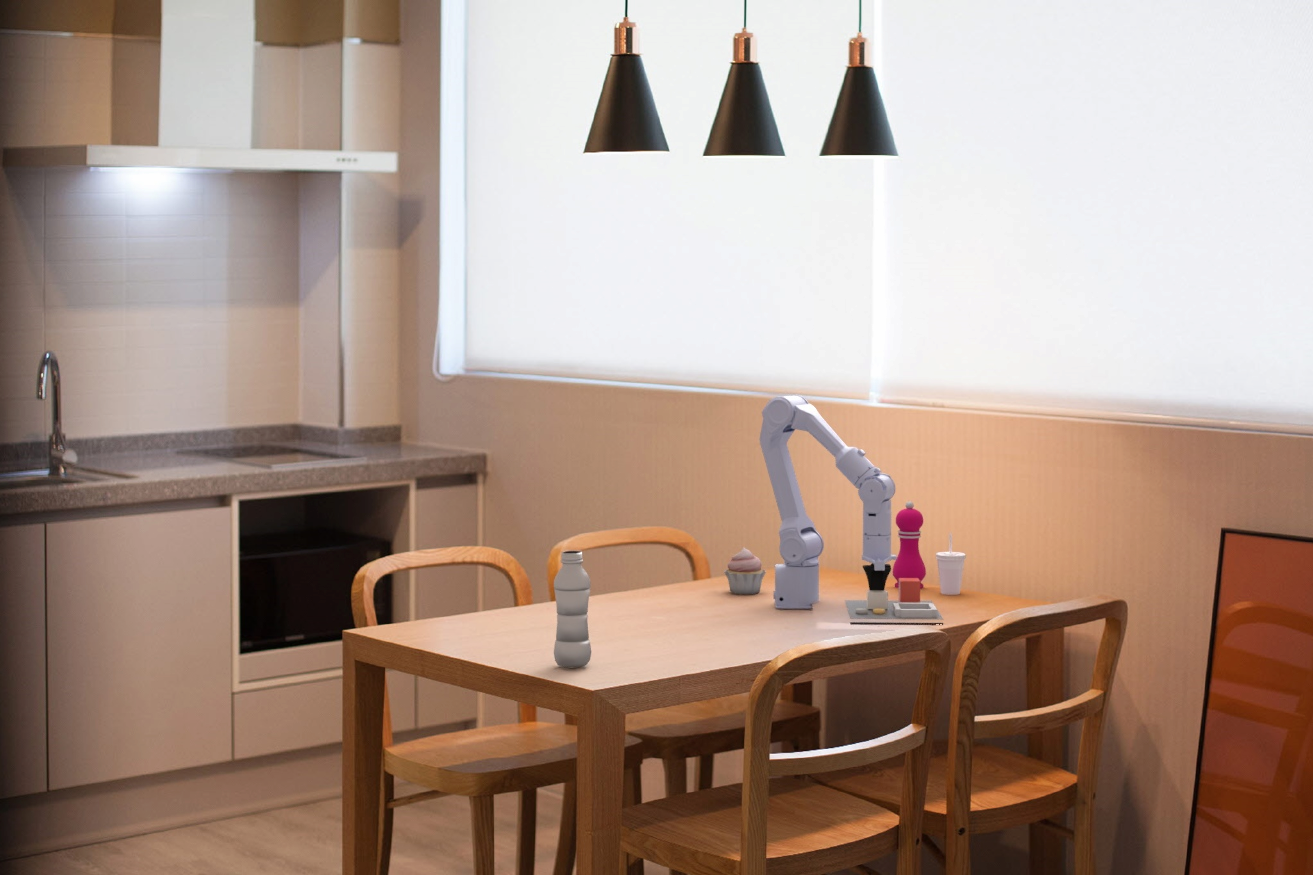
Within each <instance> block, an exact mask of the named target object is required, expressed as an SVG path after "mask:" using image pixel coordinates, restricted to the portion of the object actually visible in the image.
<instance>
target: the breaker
mask: <svg viewBox="0 0 1313 875" xmlns="http://www.w3.org/2000/svg"><path fill="white" fill-rule="evenodd" d="M866 600H867V608H868V609H876V608H881V609H888V601H889V592H888V590H885V589H884V590H869V589H868V590H866Z"/></svg>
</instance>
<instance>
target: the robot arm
mask: <svg viewBox="0 0 1313 875" xmlns="http://www.w3.org/2000/svg"><path fill="white" fill-rule="evenodd" d="M761 414H762V421H761V422H762V423H761V430H760V432H759V445H760V447H761V448H760V449H761V452H762V454H763V459H764V463H765V465H766V469H767V474H768V476H769V480H770V484H771V487H772V491H773V495H774V498H775V502H776V505H777V509H778V513H779V516H780V519H781V523H780V524H781V525H780V527H779V530H778V536H779V545H778V546H779V554H780V556H781V558H782V559H783V563H776V564H775V565H774V590H773V600H774V607H775V608H774V609H778V610H779V609H780V610H781V609H784V610H785V609H786V610H787V609H790V610H791V609H792V610H795V609H796V610H798V609H800V610H801V609H802V610H803V609H805V610H806V609H807V610H809V609H810V610H811V609H814V607H813V604H816V603H818V602H820V560H819V556H821V554H822V553H823V551H824V547H825V546H824V545H825V543H824V540H823V536H822V535H821V534H820V533H819V532H818V531H817V529H816V525H815V522H814V521H813V520H812V519H811V518H810V517H809V515H807V511H806V507H805V504H804V500H803V497H802V493H801V490H800V487H799V486H800V485H799V483H798V479H797V475H796V472H795V468H794V466H793V465H794V464H793V462H792V456H791V455H790V451H789V447H788V441H789V440H790V439H791V437H792V435H793V433H794V432H795V430H798V431H804V432H808V433H809V434H810V435H811V436H812V437H813V438H814V439H815V440H816V441H817V442H818V443H820V444H821V445H822V447H824V448H825V449H826V450H827V451H828V452H829V453H830V455H832V456H833V457H835V458H834V459H835V467H836V468H837V469H838V471H839V472H840V473H841V474H842V475H843V476H844V477H845V478H846V479H847V480H848V481H849V482H850V483H851V484H852V485H853V486H854V488H856V489H857V491H858V492H857V494H858V497H859V499H860V500H861V502H862V555H861V560H862V561H865V562H867V563H869V564H864V565H862V568H863V571H864V572H865V576H866V579H867V582H868V583H867V584H868V590H885V588H886V583H887V580H888V577H889V575H890V573H891V571H892V567H891V565H890V564H889V562H890V561H893V560H895V561H896V559H897V557H898V555H896V554H892V498H893V497H894V496H895V493H896V484H895V482H894V480H893V479H892V476H891V475H890V474H887V473H884V472H882V470H881V469H880V467H876V466H875V465H874V464H873V463H872V462H871V461H870V460H869V459H868V458H867V457H866V456H865V455H866V454H867V453H866V452H865V450H863V449H862V448H861V449H858V447H857V446H848V445H847V444H846V443H845V442H844V441H843V440H842V439H841V438H840V436H839V435H838V434H837V433H836V432H835V430H834V429H833V428H832V427H831V426H830V425H829V423H828V422H827V421H826V420H825V419H824V418H823V417H822V415H821V414H820V413H819V411H818V410H817V408H816V407H815V406H814V405H813V404H812V403H809V401H808V400H807V399H806V398H805V397H804V396H803V395H800V394H793V395H792V394H791V395H786V396H782V395H781V396H780V395H779V396H775V397H772V398H771V399H769V401H768V402H767V404H766V405H765V406H764V408H763V409H762V411H761Z"/></svg>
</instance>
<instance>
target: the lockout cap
mask: <svg viewBox="0 0 1313 875" xmlns="http://www.w3.org/2000/svg"><path fill="white" fill-rule="evenodd" d="M898 601H899V603H920V601H921V588H920V580H919V579H918V578H899V588H898Z"/></svg>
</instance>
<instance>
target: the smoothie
mask: <svg viewBox="0 0 1313 875" xmlns="http://www.w3.org/2000/svg"><path fill="white" fill-rule="evenodd" d="M948 534H949V537H948V542H949V544H948V545H949V546H948V551H940V552H939V551H938V552H936V553H935V559H936V561H937V569H938V570H937V571H938V578H939V587H940V594H942V595H947V596H948V595H949V596H956V595H960V593H961V587H962V581H963V573H964V572H963V571H964V564H965V560H967V557H966V556H967V555H966V553H964V552H959V551H952V550H953V533H952V532H950V533H948Z"/></svg>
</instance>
